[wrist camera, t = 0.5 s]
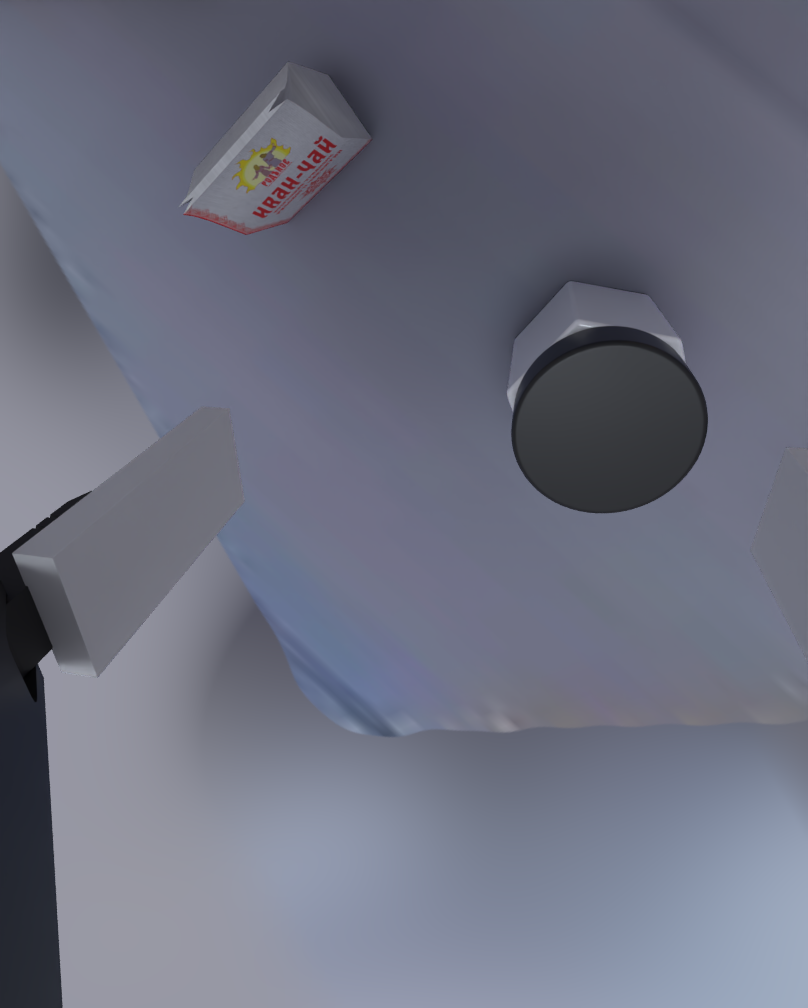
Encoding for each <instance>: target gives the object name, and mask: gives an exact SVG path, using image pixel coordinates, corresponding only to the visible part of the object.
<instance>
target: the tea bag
mask: <svg viewBox="0 0 808 1008" xmlns="http://www.w3.org/2000/svg"><path fill="white" fill-rule="evenodd" d="M371 140H372V138H371V136H370V135H369V134H368V132H367V131H366V129H365V128H364V126H363V125H362V123H361V122H360V120H359V119H358V118H357V116H356V115H355V113H354V112H353V110H352V109H351V107H350V106H349V104H348V103H347V102H346V100H345V99H344V97H343V96H342V94H341V93H340V91H339V90H338V88H337V87H336V86H335V84H334V83H333V81H332V80H331V78H330V77H329V75H327V74H324V73H321V72H318V71H315V70H312V69H309V68H306V67H304V66H301V65H298V64H295V63H292V62H289V61H288V62H287V63H286V65H285V66H284V67H283V68H282V69H281V70H280V71H279V73H278V74H277V75H276V76H275V77H274V78H273V80H272V81H271V82H270V83H269V84H268V85H267V86H266V88H265V89H264V90H263V91H262V92H261V93H260V95H259V96H258V97H257V98H256V99H255V100H254V101H253V103H252V104H251V105H250V106H249V107H248V108H247V110H246V111H245V112H244V113H243V114H242V115H241V117H240V118H239V119H238V120H237V121H236V122H235V123H234V125H233V126H232V127H231V128H230V129H229V130H228V132H227V133H226V134H225V135H224V136H223V137H222V138H221V140H220V141H219V142H218V143H217V144H216V145H215V147H214V148H213V149H212V150H211V151H210V152H209V153H208V155H207V156H206V157H205V158H204V159H203V160H202V162H201V163H200V164H199V165H198V166H197V167H196V168H195V170H194V173H193V177H192V180H191V184H190V188H189V191H188V194H187V196H186V198H185V200H184V201H183V202H182V203H181V204H180V206H182V205H184V204H186V203H188V202H190V201H191V202H190V204H189V205H188V207H187V209H186V211H185V213H184V214H183V215H189V216H195V217H199V218H202V219H205V220H209V221H212V222H214V223H217V224H219V225H222V226H225V227H227V228H230V229H232V230H235V231H238V232H240V233H243V234H245V235H247V234H251V233H254V232H257V231H261V230H264V229H268V228H271V227H274V226H278V225H281V224H284V223H288V222H289V221H290V220H291V219H292V218H293V217H294V216H295V215H296V214H297V213H298V212H299V211H300V210H301V209H302V208H303V207H304V206H305V205H306V204H307V203H308V202H309V201H310V200H311V199H312V198H313V197H314V196H315V195H316V194H317V193H318V192H319V191H320V190H321V189H322V188H323V187H324V186H325V185H326V184H327V183H328V182H329V181H330V180H331V179H332V178H333V177H334V176H335V175H336V174H337V173H339V172H340V171H341V170H342V169H343V168H344V167H345V166H346V165H347V164H348V163H349V162H350V161H351V160H352V159H353V158H354V157H355V156H356V155H357V154H358V153H359V152H360V151H361V150H362V149H363V148H364V147H365V146H366V145H367V144H368V143H369V142H370V141H371ZM180 206H179V207H180Z"/></svg>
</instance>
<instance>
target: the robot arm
mask: <svg viewBox="0 0 808 1008" xmlns="http://www.w3.org/2000/svg"><path fill="white" fill-rule="evenodd" d="M244 501H245V500H244V494H243V488H242V482H241V476H240V470H239V464H238V458H237V452H236V446H235V440H234V434H233V428H232V422H231V416H230V410H229V408H215V407H201V408H199V409H198V410H197V411H195V412H194V413H193V414H192V415H190V416H189V417H188V418H186V419H185V420H184V421H182V422H181V423H180V424H179V425H177V426H176V427H175V428H173V429H172V430H171V431H170V432H168V433H167V434H166V435H164V436H163V437H162V438H160V439H159V440H158V441H157V442H155V443H154V444H153V445H151V446H150V447H149V448H148V449H146V450H145V451H144V452H142V453H141V454H140V455H138V456H137V457H136V458H135V459H133V460H132V461H131V462H129V463H128V464H127V465H126V466H124V467H123V468H122V469H120V470H119V471H118V472H116V473H115V474H114V475H113V476H111V477H110V478H109V479H107V480H106V481H105V482H104V483H102V484H101V485H100V486H98V487H97V488H96V489H94V490H93V491H90V492H88V493H86V494H83V495H81V496H79V497H77V498H75V499H72V500H70V501H68V502H67V503H66V504H64V505H63V506H61V507H60V508H59V509H57V510H56V511H55V512H53V513H52V514H51V515H50V518H48V517H47V518H46V519H44V520H43V521H42V522H40V523H39V524H38V525H36V528H35V529H34V528H32V529H31V530H29V531H28V532H27V533H26V534H24V535H23V536H22V537H20V538H19V539H18V540H16V541H15V542H14V543H12V544H11V545H10V546H8V547H7V548H6V549H4V550H3V551H2V552H0V1008H62V990H61V974H60V955H59V939H58V920H57V903H56V886H55V868H54V851H53V833H52V816H51V798H50V781H49V763H48V746H47V729H46V712H45V694H44V677H43V675H42V673H41V670H40V668H39V666H38V663H39V662H40V660H41V659H42V658H43V657H44V656H45V655H46V654H47V653H48V652H49V651H50V650H51V649H52V650H53V653H54V655H55V658H56V660H57V663H58V665H59V667H60V670H61V672H64V673H70V674H76V675H83V676H90V677H95V678H98V677H99V676H100V674H101V673H102V672H103V671H104V670H105V668H106V667H107V666H108V665H109V664H110V662H111V661H112V660H113V659H114V658H115V656H116V655H117V654H118V653H119V652H120V650H121V649H122V648H123V647H124V646H125V644H126V643H127V642H128V641H129V639H130V638H131V637H132V636H133V635H134V634H135V632H136V631H137V630H138V629H139V627H140V626H141V625H142V624H143V623H144V622H145V620H146V619H147V618H148V617H149V616H150V614H151V613H152V612H153V611H154V610H155V608H156V607H157V606H158V604H160V602H161V601H162V600H163V599H164V598H165V596H166V595H167V594H168V593H169V591H170V590H171V589H172V588H173V587H174V585H175V584H176V583H177V582H178V581H179V579H180V578H181V577H182V576H183V575H184V573H185V572H186V571H187V570H188V569H189V567H190V566H191V565H192V564H193V563H194V561H195V560H196V559H197V558H198V556H199V555H200V554H201V553H202V552H203V551H204V549H205V548H206V547H207V546H208V545H209V543H210V542H211V541H212V540H213V539H214V537H215V536H216V535H217V534H218V533H219V531H220V530H221V529H222V528H223V527H224V525H225V524H226V523H227V522H228V521H229V519H230V518H231V517H232V516H233V515H234V513H235V512H236V511H237V510H238V509H239V507H240V506H241V505H242V504H243V503H244ZM750 551H751V553H752V555H753V557H754V559H755V560H756V562H757V564H758V566H759V568H760V570H761V572H762V574H763V576H764V578H765V580H766V582H767V584H768V586H769V588H770V590H771V592H772V594H773V596H774V597H775V599H776V601H777V603H778V605H779V607H780V609H781V611H782V613H783V615H784V617H785V619H786V621H787V623H788V625H789V627H790V629H791V631H792V633H793V634H794V636H795V638H796V640H797V642H798V644H799V646H800V648H801V650H802V652H803V654H804V656H805V658H806V660H807V662H808V449H806V448H791V447H786V448H785V451H784V454H783V457H782V460H781V463H780V466H779V468H778V471H777V474H776V477H775V480H774V483H773V486H772V489H771V491H770V494H769V497H768V500H767V503H766V506H765V509H764V512H763V514H762V517H761V520H760V523H759V526H758V529H757V532H756V535H755V537H754V540H753V543H752V546H751V549H750Z"/></svg>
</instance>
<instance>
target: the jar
mask: <svg viewBox="0 0 808 1008" xmlns="http://www.w3.org/2000/svg"><path fill="white" fill-rule="evenodd" d="M507 397H508V400H509V403H510V406H511V409H512V412H513V419H512V429H511V436H512V446H513V451H514V454H515V457H516V460H517V463H518V465H519V467H520V469H521V471H522V472H523V474H524V475H525V477H526V478H527V479H528V481H529V482H530V483H531V484H532V485H533V486H534V487H535V488H536V489H537V490H538V491H539V492H540V493H541V494H543V495H544V496H546V497H547V498H549V499H550V500H552V501H554V502H556V503H558V504H560V505H562V506H565V507H567V508H570V509H574V510H578V511H583V512H589V513H615V512H622V511H627V510H631V509H634V508H637V507H641V506H643V505H645V504H648V503H650V502H652V501H654V500H656V499H658V498H660V497H661V496H663V495H664V494H666V493H667V492H669V491H670V490H671V489H673V488H674V487H675V486H676V485H677V484H678V483H679V482H680V481H681V480H682V479H683V478H684V477H685V476H686V475H687V474H688V472H689V471H690V470H691V469H692V467H693V466H694V464H695V462H696V461H697V459H698V457H699V455H700V453H701V451H702V448H703V445H704V442H705V438H706V433H707V426H708V414H707V406H706V401H705V398H704V395H703V392H702V389H701V387H700V385H699V383H698V382H697V380H696V378H695V377H694V375H693V374H692V372H691V371H690V369H689V368H688V366H687V365H686V360H685V355H684V349H683V344H682V340H681V339H680V337H679V336H678V335H677V333H676V332H675V331H674V329H673V328H672V326H671V325H670V324H669V322H668V321H667V320H666V318H665V317H664V315H663V314H662V313H661V311H660V310H659V309H658V307H657V306H656V304H655V303H654V302H653V300H652V299H651V297H650V296H649V295H645V294H640V293H634V292H629V291H623V290H618V289H612V288H607V287H602V286H596V285H591V284H585V283H580V282H574V281H569V282H567V283H566V284H565V285H564V286H563V288H562V289H561V290H560V291H559V292H558V293H557V294H556V295H555V296H554V297H553V298H552V300H551V301H550V302H549V303H548V304H547V305H546V306H545V307H544V308H543V309H542V310H541V311H540V313H539V314H538V315H537V316H536V317H535V318H534V319H533V320H532V321H531V322H530V323H529V324H528V326H527V327H526V328H525V329H524V330H523V331H522V332H521V333H520V334H519V335H518V336H517V337H516V338H515V340H514V345H513V352H512V359H511V366H510V373H509V380H508V387H507Z"/></svg>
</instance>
